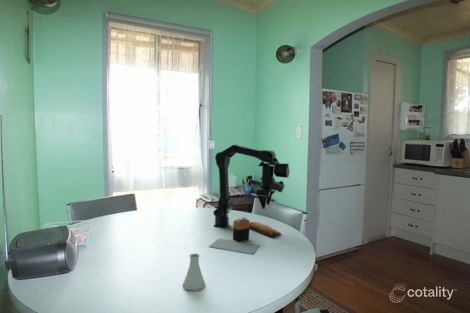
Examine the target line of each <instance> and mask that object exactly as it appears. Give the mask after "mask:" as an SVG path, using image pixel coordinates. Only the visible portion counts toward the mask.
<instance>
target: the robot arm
mask: <svg viewBox="0 0 470 313" xmlns="http://www.w3.org/2000/svg"><path fill="white" fill-rule="evenodd" d="M236 154H239V155H245V156H247V157H253V158H255V159H258V160H259V161H261V162H259V164H258V165H257V166H258V167H261V177H260V181H261V184H260V185H259V188H257V190H255V195H256V197H257V199H258V200H259V203H260V205H261V208H262V210H265V209H266V205H268V206H269V205H270V203H271V201H272V197H273V194H275V193H276V192H278V193H282V192H283V191H284V189H285V184H284V181H282V180H280V181H276V179H275V177H277V178H285V179H288V178H289V176H290V167H289V163H280V162H279V160H278V159H277V157H276V156H277V155H276V153H275V151H274V150H270V149H269V150H267V149H257V148H256V149H255V148H251V147H247V146H242V145H238V144H231V145H230V146H229V147H228V148H226V149H223V150H222V151H219V152H216V154H215V157H214V159H215V162H216V163H215V164H216V166H217V168H218V174H219V175H218V177H219V199H218V201H217V208H216V209H214V211H213V212H212V213H213V216H214V225H213V227H217V228H224V229H225V228H226V227H228V226H229V225H230V222H229V221H230V217H229V213H230V211H231V210H232V209H233V208H234V207H233V206H234V198H233V197H230V188H229V184H230V183H229V166H230V163H231V158H232V157H234V156H235V155H236ZM274 176H275V177H274Z"/></svg>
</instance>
